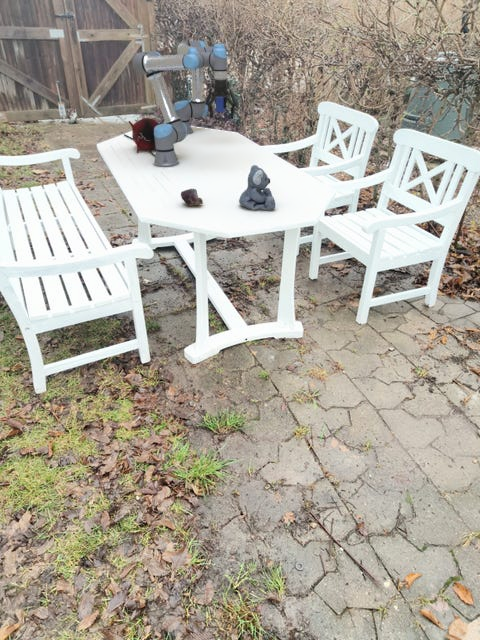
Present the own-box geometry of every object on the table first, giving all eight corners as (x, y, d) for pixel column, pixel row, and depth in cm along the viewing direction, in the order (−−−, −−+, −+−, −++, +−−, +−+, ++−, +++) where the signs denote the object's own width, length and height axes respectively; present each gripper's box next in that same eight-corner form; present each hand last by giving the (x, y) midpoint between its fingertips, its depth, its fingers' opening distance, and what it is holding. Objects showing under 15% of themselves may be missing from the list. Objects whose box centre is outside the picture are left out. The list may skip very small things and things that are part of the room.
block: (222, 112, 316) (222, 97, 311) (216, 112, 318) (215, 97, 312) (226, 110, 322) (226, 95, 317) (219, 110, 324) (219, 95, 318)
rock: (196, 202, 238) (178, 205, 233) (194, 185, 234) (176, 188, 230) (205, 205, 228) (187, 208, 224) (203, 188, 224) (185, 191, 220)
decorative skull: (132, 124, 330) (125, 120, 306) (163, 117, 329) (158, 113, 306) (140, 154, 337) (134, 153, 313) (170, 147, 336) (166, 145, 312)
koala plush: (276, 211, 223) (277, 171, 212) (240, 212, 222) (240, 172, 211) (271, 199, 237) (272, 161, 226) (237, 200, 236) (237, 162, 225)
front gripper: (242, 79, 263) (242, 118, 275) (203, 77, 270) (205, 115, 282) (238, 80, 257) (239, 120, 269) (198, 79, 264) (200, 118, 276)
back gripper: (234, 70, 306) (235, 107, 319) (209, 69, 311) (211, 106, 324) (231, 71, 300) (231, 109, 313) (205, 70, 305) (207, 108, 318)
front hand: (221, 118), depth 276 cm, fingers open, 13 cm apart
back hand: (221, 107), depth 319 cm, fingers closed on block, 5 cm apart
